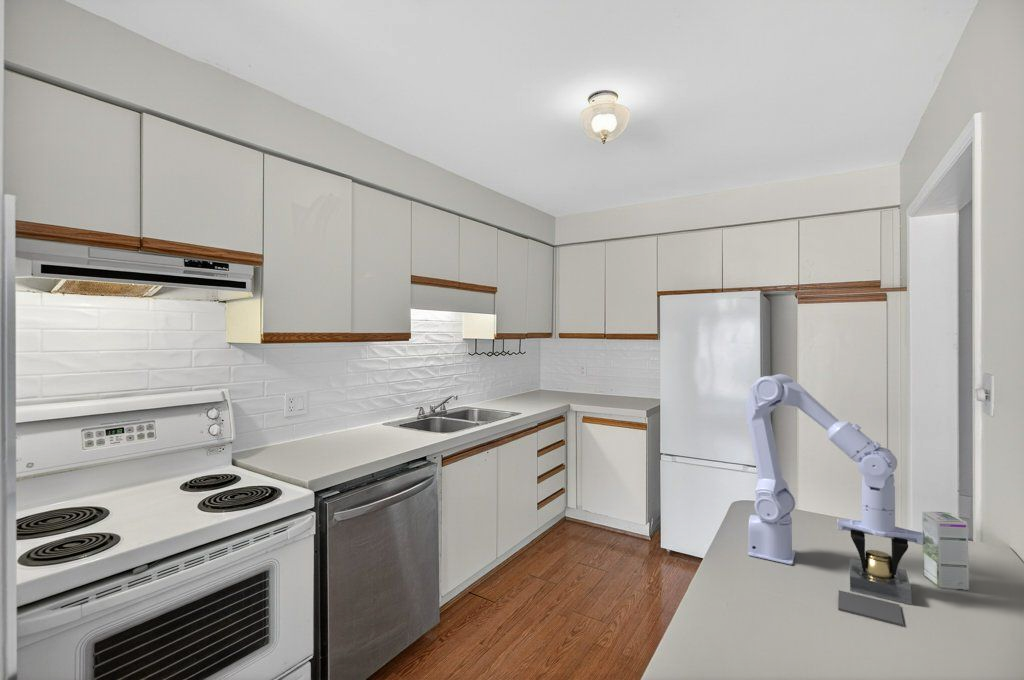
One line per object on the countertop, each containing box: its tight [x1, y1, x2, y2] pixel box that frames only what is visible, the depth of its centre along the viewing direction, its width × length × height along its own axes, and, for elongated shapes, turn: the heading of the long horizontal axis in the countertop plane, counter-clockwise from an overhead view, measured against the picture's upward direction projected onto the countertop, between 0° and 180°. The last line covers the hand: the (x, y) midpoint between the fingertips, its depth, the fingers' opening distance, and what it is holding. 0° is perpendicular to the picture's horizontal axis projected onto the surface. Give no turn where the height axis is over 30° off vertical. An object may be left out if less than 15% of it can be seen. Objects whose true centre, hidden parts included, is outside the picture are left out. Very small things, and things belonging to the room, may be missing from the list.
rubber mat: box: [837, 590, 904, 627], centre depth 96 cm, size 10×8×1 cm
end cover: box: [865, 549, 892, 579], centre depth 104 cm, size 4×4×7 cm
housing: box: [849, 557, 912, 605], centre depth 104 cm, size 10×10×3 cm
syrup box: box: [921, 511, 970, 591], centre depth 105 cm, size 6×6×14 cm
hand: (878, 569), depth 104 cm, fingers closed on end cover, 4 cm apart
